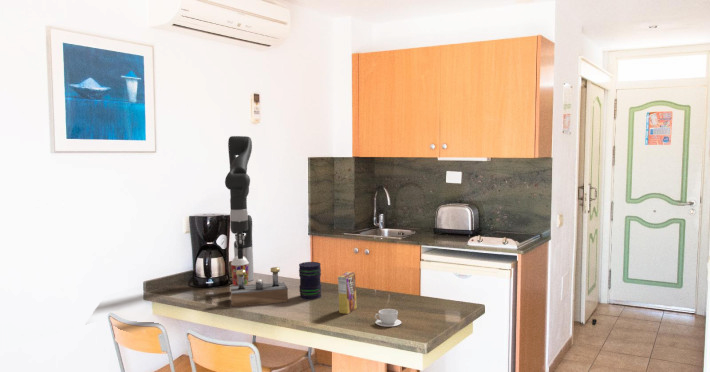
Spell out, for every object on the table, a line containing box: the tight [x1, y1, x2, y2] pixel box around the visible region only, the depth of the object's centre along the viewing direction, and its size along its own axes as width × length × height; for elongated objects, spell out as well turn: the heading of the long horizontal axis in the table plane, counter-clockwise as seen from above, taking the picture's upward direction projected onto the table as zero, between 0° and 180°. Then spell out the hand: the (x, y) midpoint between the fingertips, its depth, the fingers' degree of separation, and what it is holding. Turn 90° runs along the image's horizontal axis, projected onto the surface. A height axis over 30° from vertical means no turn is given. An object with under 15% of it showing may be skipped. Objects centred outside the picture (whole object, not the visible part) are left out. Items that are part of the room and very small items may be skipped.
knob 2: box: [270, 266, 281, 287], centre depth 255 cm, size 4×4×9 cm
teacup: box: [374, 308, 402, 328], centre depth 219 cm, size 10×10×5 cm
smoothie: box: [230, 256, 249, 286], centre depth 269 cm, size 8×8×20 cm
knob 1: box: [236, 270, 246, 290], centre depth 252 cm, size 4×4×9 cm
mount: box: [230, 281, 289, 307], centre depth 254 cm, size 12×24×6 cm, turn 104°
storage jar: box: [298, 261, 322, 301], centre depth 258 cm, size 10×10×15 cm
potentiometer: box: [255, 279, 263, 290], centre depth 250 cm, size 3×3×4 cm
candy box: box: [337, 271, 357, 315], centre depth 236 cm, size 9×4×15 cm, turn 156°
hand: (240, 258), depth 251 cm, fingers closed
